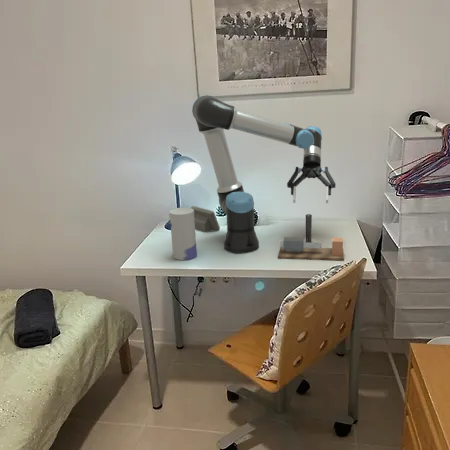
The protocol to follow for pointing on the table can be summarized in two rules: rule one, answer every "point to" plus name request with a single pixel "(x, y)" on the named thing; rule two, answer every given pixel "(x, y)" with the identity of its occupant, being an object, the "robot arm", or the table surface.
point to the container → (183, 233)
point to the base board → (311, 254)
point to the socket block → (337, 246)
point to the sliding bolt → (308, 235)
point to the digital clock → (205, 219)
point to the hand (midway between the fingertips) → (310, 201)
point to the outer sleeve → (293, 245)
